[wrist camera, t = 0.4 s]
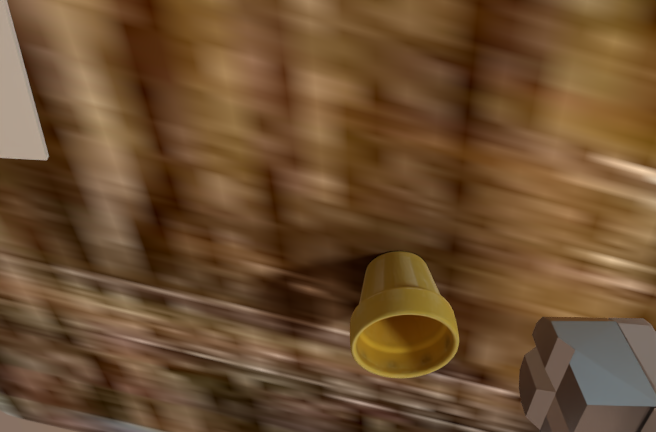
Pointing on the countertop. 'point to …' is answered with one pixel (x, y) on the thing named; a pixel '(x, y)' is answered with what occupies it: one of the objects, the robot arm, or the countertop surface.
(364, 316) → the plant pot
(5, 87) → the mat
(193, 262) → the countertop surface
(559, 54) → the countertop surface
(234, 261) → the countertop surface
